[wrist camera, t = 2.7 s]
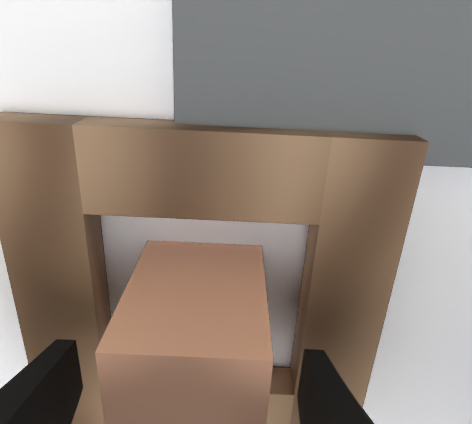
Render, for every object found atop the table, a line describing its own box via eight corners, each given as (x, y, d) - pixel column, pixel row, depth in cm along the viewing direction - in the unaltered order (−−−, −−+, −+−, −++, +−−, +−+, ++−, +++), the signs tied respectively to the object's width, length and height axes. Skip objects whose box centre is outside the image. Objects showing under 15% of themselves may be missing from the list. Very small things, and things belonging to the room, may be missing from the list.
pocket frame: (409, 131, 13) (429, 142, 12) (344, 416, 19) (352, 445, 18) (1, 112, 13) (-27, 120, 12) (58, 404, 19) (44, 432, 17)
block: (261, 245, 15) (273, 360, 10) (254, 335, 17) (260, 474, 12) (147, 240, 15) (94, 352, 10) (152, 330, 17) (110, 468, 12)
